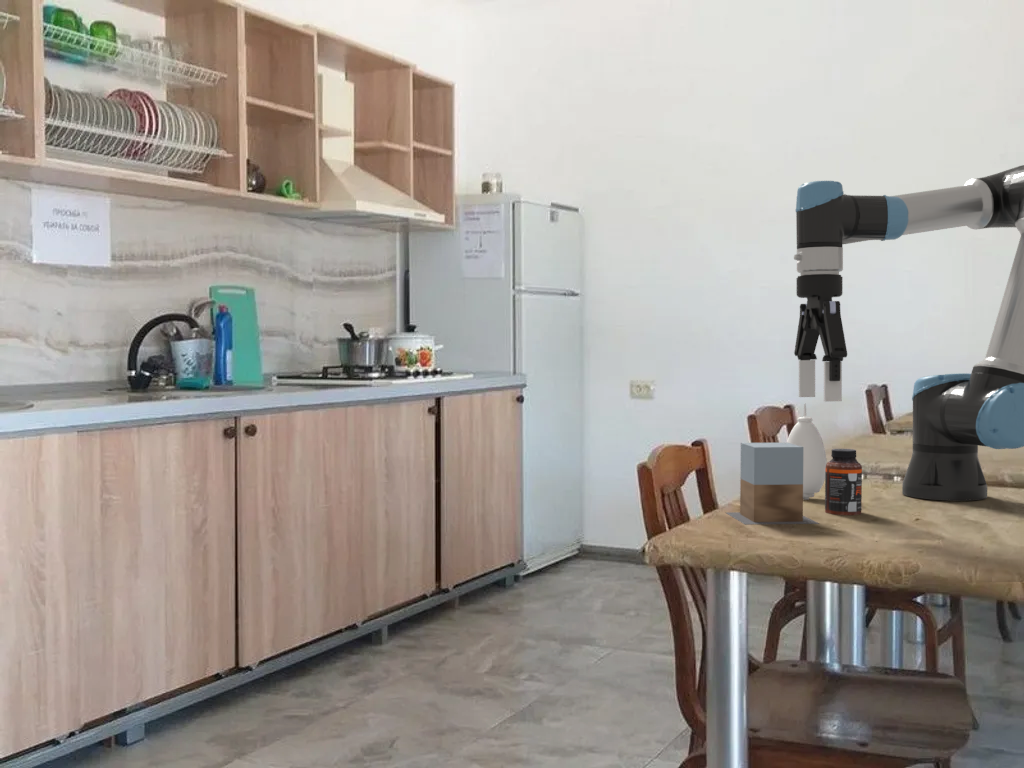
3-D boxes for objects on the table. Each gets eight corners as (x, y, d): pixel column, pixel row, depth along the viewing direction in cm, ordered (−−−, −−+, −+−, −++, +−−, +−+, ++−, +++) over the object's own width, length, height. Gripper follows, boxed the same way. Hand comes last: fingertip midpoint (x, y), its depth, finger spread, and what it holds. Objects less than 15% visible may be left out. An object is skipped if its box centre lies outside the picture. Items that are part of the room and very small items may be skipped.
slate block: (787, 478, 182) (787, 442, 182) (803, 484, 174) (803, 447, 174) (740, 478, 182) (740, 442, 182) (754, 484, 174) (754, 447, 174)
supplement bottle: (863, 519, 181) (864, 451, 180) (826, 518, 182) (827, 450, 181) (859, 513, 186) (860, 448, 186) (823, 512, 188) (824, 447, 187)
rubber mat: (794, 515, 185) (794, 511, 185) (819, 527, 173) (819, 523, 173) (725, 516, 184) (725, 512, 184) (744, 528, 172) (744, 524, 172)
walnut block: (787, 513, 182) (787, 478, 182) (802, 521, 174) (803, 484, 174) (740, 514, 182) (740, 478, 182) (753, 522, 174) (754, 484, 174)
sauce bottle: (810, 503, 199) (811, 405, 198) (774, 498, 204) (775, 403, 204) (834, 499, 204) (835, 403, 203) (798, 494, 210) (799, 401, 209)
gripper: (776, 278, 196) (776, 395, 197) (821, 269, 171) (821, 403, 172) (817, 278, 197) (817, 395, 197) (868, 268, 172) (867, 402, 173)
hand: (819, 399), depth 185 cm, fingers open, 13 cm apart
